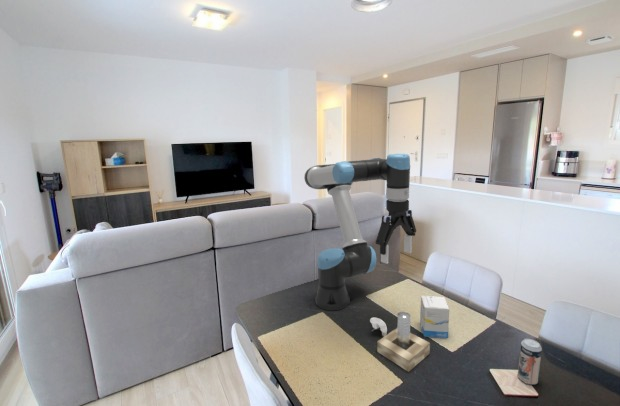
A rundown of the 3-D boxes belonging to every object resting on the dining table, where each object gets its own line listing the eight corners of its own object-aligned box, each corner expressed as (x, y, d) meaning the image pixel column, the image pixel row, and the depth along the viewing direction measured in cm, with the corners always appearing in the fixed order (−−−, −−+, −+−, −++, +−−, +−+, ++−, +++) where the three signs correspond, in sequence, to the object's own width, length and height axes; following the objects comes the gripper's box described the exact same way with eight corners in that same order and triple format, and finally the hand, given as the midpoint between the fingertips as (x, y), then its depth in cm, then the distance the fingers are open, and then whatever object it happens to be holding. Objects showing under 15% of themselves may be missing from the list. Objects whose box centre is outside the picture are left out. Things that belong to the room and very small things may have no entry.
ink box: (448, 338, 105) (450, 308, 103) (423, 336, 107) (424, 307, 105) (443, 324, 114) (444, 296, 111) (419, 322, 115) (420, 294, 113)
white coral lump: (383, 332, 114) (393, 323, 111) (380, 344, 108) (390, 334, 105) (366, 318, 116) (375, 309, 113) (362, 329, 110) (371, 319, 107)
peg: (394, 352, 100) (395, 315, 97) (401, 347, 102) (402, 310, 99) (405, 358, 97) (405, 320, 94) (412, 353, 99) (413, 315, 96)
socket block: (377, 351, 101) (377, 341, 100) (398, 336, 108) (398, 326, 107) (408, 372, 91) (408, 360, 91) (429, 353, 99) (429, 342, 98)
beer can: (513, 373, 89) (517, 338, 86) (528, 372, 89) (532, 336, 87) (526, 386, 84) (530, 349, 82) (542, 385, 84) (546, 347, 82)
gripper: (383, 207, 92) (382, 270, 97) (427, 195, 107) (425, 250, 112) (364, 203, 98) (365, 263, 103) (409, 192, 113) (407, 245, 117)
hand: (396, 257), depth 107 cm, fingers open, 13 cm apart
